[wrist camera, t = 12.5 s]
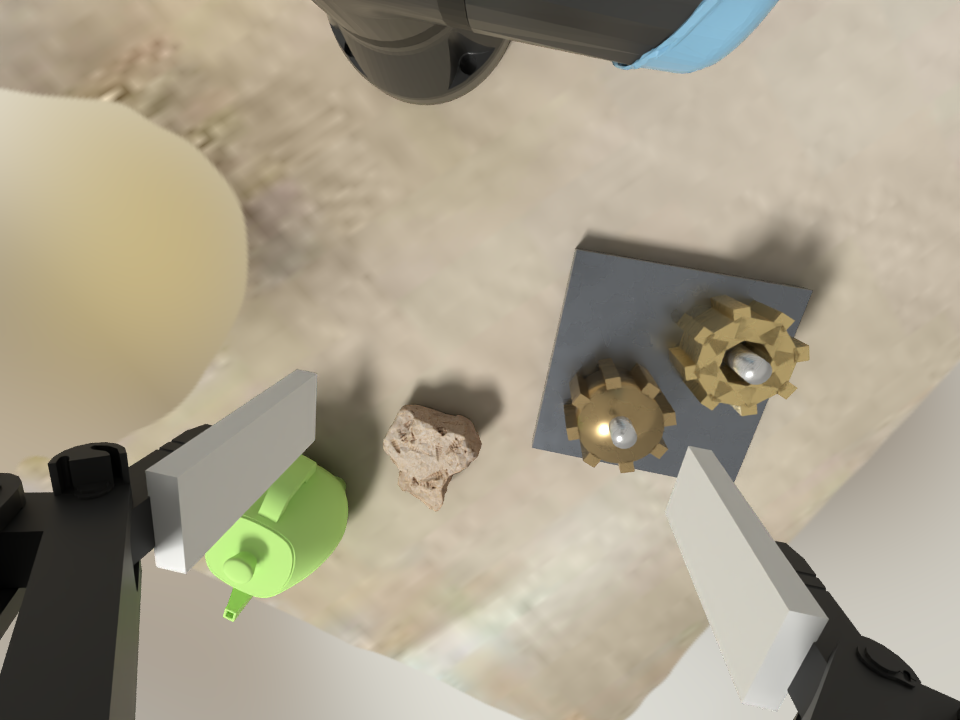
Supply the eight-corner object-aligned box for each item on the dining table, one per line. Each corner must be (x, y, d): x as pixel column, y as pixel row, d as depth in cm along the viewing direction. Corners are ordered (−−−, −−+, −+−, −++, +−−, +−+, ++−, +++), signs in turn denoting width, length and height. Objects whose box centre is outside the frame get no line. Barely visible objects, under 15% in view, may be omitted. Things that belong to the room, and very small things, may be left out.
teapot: (324, 574, 57) (268, 669, 46) (229, 525, 57) (147, 609, 45) (386, 456, 51) (338, 532, 39) (278, 399, 50) (197, 459, 38)
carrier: (575, 248, 41) (583, 258, 33) (803, 287, 40) (869, 308, 32) (532, 440, 48) (530, 487, 40) (725, 480, 46) (764, 537, 38)
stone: (490, 427, 48) (485, 450, 43) (437, 500, 52) (426, 528, 47) (419, 381, 47) (406, 400, 43) (371, 458, 51) (353, 483, 47)
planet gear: (687, 288, 39) (706, 299, 35) (792, 306, 39) (826, 320, 34) (658, 381, 42) (672, 403, 38) (755, 399, 42) (782, 424, 37)
